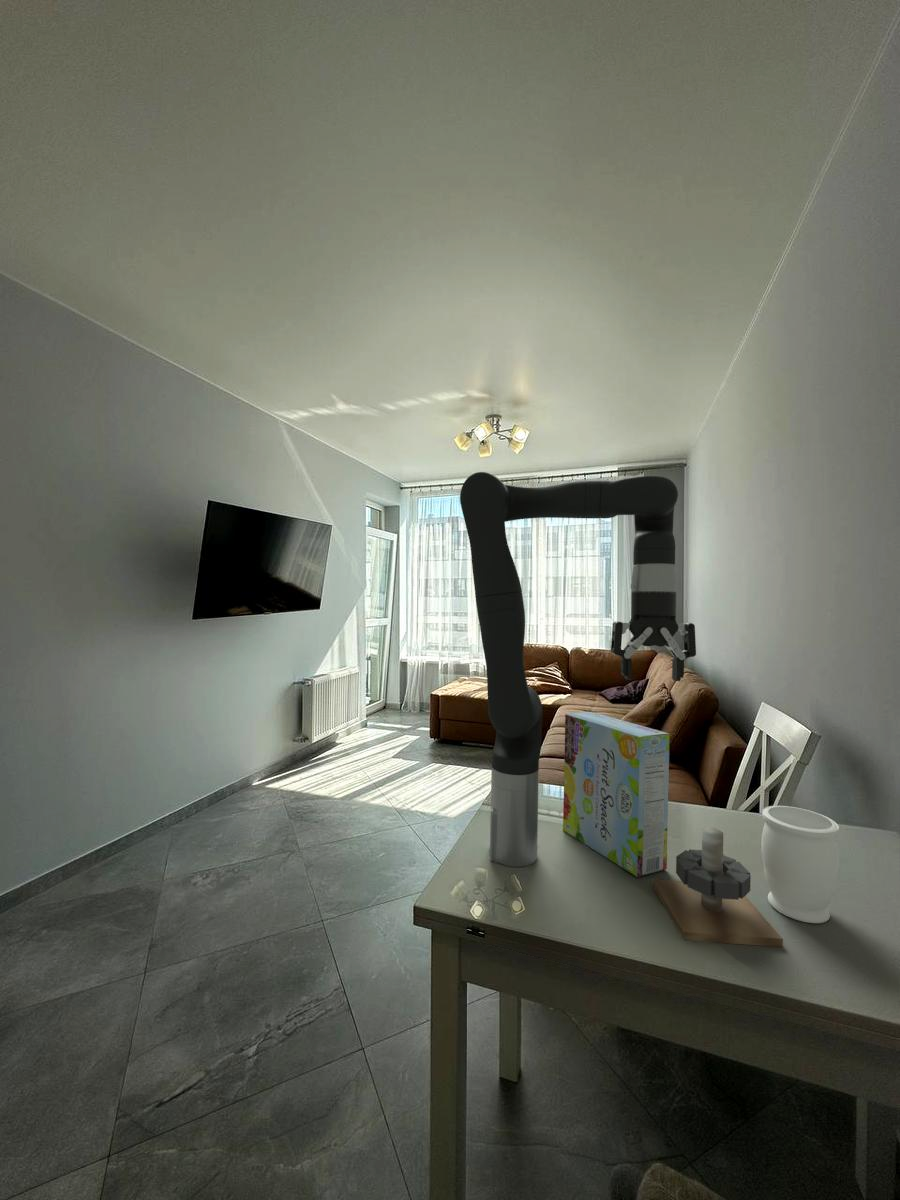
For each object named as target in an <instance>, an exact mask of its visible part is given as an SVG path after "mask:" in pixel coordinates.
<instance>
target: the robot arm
mask: <svg viewBox="0 0 900 1200" xmlns="http://www.w3.org/2000/svg"><path fill="white" fill-rule="evenodd" d="M459 493H460V494H459V502H460V507H461V512H462V516H463V519H464V524H465V529H466V532H467V535H468V541H469V547H470V548H469V549H470V557H471V569H472V577H473V585H474V596H475V605H476V611H477V612H476V613H477V618H478V623H479V630H480V635H481V642H482V648H483V654H484V659H485V667H486V678H487V679H486V685H487V711H488V718H489V721H490V723H491V725H492V726H493V728H494V729H495V730H496V735H495V741H494V742H495V743H494V745H493V749H492V751H491V781H490V783H491V784H490V787H491V788H490V815H489V816H490V821H489V827H490V829H489V861H490V862H496V863H499V864H500V865H504V866H509V867H516V868H517V867H525V866H527V867H528V866H529V865H532V864H534V863H535V862H536V861H537V859H538V847H539V846H538V845H539V844H538V839H539V838H538V837H539V836H538V834H539V833H538V832H539V831H538V830H539V829H538V828H539V784H540V782H539V779H540V778H539V776H540V775H539V774H540V773H539V771H540V767H539V766H540V756H541V750H542V735H543V734H542V733H543V732H542V729H543V705H542V700H541V697H540V696H539V694H538V693H537V691H536V690H535V689H533V687H531V686H529V685H528V682H527V677H526V676H527V675H526V672H525V666H524V664H525V663H524V650H525V649H524V648H525V646H524V645H525V636H526V635H525V634H526V613H525V612H526V611H525V610H526V609H525V603H524V597H523V589H522V585H521V581H520V577H519V572H518V570H517V567H516V565H515V561H514V559H513V555H512V553H511V551H510V548H509V543H508V540H507V534H506V533H507V532H506V522H510V521H511V522H513V521H518V520H528V519H543V518H545V519H546V518H547V519H548V518H551V519H553V518H556V519H558V518H559V519H560V518H561V519H611V518H616V517H617V516H634V521H633V522H634V535H635V537H634V543H633V554H632V555H633V557H632V558H633V561H632V562H633V563H632V565H633V567H632V574H631V583H630V589H631V593H630V594H631V597H630V599H631V600H630V601H631V605H630V620H629V622H622V621H618V620H615V621H613V622H612V627H611V640H610V641H611V643H610V652H611V653H612V654H613V655H617V656H618V657H620V659H621V660H620V674H621V675H622V676H624V679H625V680H632V675H633V674H632V672H633V671H632V666H633V664H632V661H633V659H632V658H631V657H632V656H633V655H634V654H635V652H636V651H637V650H638V649H640V647H641V646H644V647H653V646H654V647H658V648H659V647H660V648H661V647H662V648H663V647H665V648H666V649H667V650H668V651H669V652H670V654H671V655H672V656H673V659H672V660H671V661H672V662H671V664H672V667H671V678H672V680H673V681H675V682H681V679H683V678H684V676H685V660H686V659H688V658H694V657H696V656H697V646H696V644H697V643H696V625H695V624H694V623H692V622H683V623H678V622H677V620H676V619H677V617H676V616H677V571H676V540H675V535H674V532H673V531H674V513H675V512H674V511H675V506H676V503H677V501H678V499H679V498H678V497H679V491H678V488H677V486H676V484H675V482H673V481H672V480H671V479H669V478H667V477H665V476H660V475H643V476H635V477H627V478H623V479H622V478H621V479H616V480H607V479H606V480H603V479H602V480H600V479H599V480H596V479H594V480H575V481H574V480H573V481H566V482H561V483H555V484H551V485H544V486H535V487H533V486H532V487H530V486H529V487H527V486H526V487H524V486H516V485H511V484H504V482H503V481H502V480H501V479H500V478H499V477H497V476H496V475H494V474H492V473H489V472H488V471H487V472H486V471H478V472H473V474H470V475H469V476H468V477H467V478H466V479H465V481H464V482H463V484H462V486H461V488H460V492H459ZM627 630H629V631H630V634H632V637H631V638H630V639H629V640H628V642H627V643H626V646H625V647H624V648H623V649H622V640H623V635H625V634H626V632H627ZM678 631H679V634H680V635H681V636H682V640H683V641H682V642H683V650H682V649H681V647H680V645H679V644H678V642H677V641H676V639H675V638H674V636H675V635H676V633H677V632H678Z"/></svg>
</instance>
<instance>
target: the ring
mask: <svg viewBox="0 0 900 1200" xmlns="http://www.w3.org/2000/svg"><path fill="white" fill-rule="evenodd" d="M675 858H676V859H675V860H676V862H675V873H676V875H677V876H678V878H679V879H680V881H682V882H683V884H684V885H687V887H689V888H691V889H693V890H696V891H698V892H700V893H702V894H705V895H707V896H709V897H711V896H712V895H713V896H714V897H715V898H719V899H735V900H739V898H741V899H743V898H744V897H745V896H746V897H747V895H748V894H749V893H750V892H751V877H752V876H751V873H750V872H749V870H748V869H747V868H746V867H745V866H744V865H743V864H742V862H740V861H737V860H736V859H735V858H732V857H730V856H726V855H724V854H723V872H724V873H712V872H710V871H707V870H705V869H702V868H701V866H702V849H688V850H687V849H685V850H684V851H682V852H681V853H679V854H678V855H676V857H675Z"/></svg>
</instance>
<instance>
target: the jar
mask: <svg viewBox="0 0 900 1200" xmlns="http://www.w3.org/2000/svg"><path fill="white" fill-rule="evenodd" d="M761 817H762V819H763V820H764V821H765V822H764V825H763V829H762V833H761V841H760V842H761V844H760V848H761V858H762V862H763V863H762V864H763V871H764V877H765V880H766V883H767V886H768V888H769V890H770V891H769V893H768V895H767V900H768V903H769V905H770V906H771V907H772V908H773V909H775V910H776V911H777V912H779V913H780V914H782V915H784V916H786V917H789V918H790V919H793V920H796V921H799V922H803V923H807V924H808V923H810V924H823V923H826V922H827V921H828V920H830V917H831V916H830V915H831V914H830V911H829V909H828V906H829V904H830V903H831V901H832V899H833V896H834V893H835V889H836V884H837V881H838V875H839V868H840V867H839V866H840V865H839V864H840V861H839V860H840V857H839V849H838V848H839V847H838V844H837V839H836V836H838V834H839V833H840V827H839V825H838V823H836V822H835V820H834V819H832V818H829V817H827V816H826V815H823V814H821V813H819V812H815V811H812V810H809V809H805V808H800V807H796V806H788V805H769V806H765V807H763V808H762V810H761Z"/></svg>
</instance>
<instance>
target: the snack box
mask: <svg viewBox="0 0 900 1200" xmlns="http://www.w3.org/2000/svg"><path fill="white" fill-rule="evenodd" d="M564 715H565V716H564V717H565V719H564V759H563V761H564V763H563V764H564V768H563V769H564V771H563V807H562V808H563V812H562V815H563V817H562V831H564V832H565V833H566V834H568V835H570V836H572V837H573V838H575V839H576V840H578V841H580V842H581V843H583V844H584V845H586V846H588V847H589V848H590V849H592V850H594V851H595V852H597V853H599V854H600V855H602V856H603V857H605V858H606V859H608V860H610V861H611V862H613V863H614V864H616V865H617V866H619V867H621V869H624V870H625V871H627V872H629V873H630V874H632V875H634V876H635V877H636V878H639V877H642V876H645V875H649V874H653V873H657V872H661V871H664V870H667V868H668V826H669V825H668V823H669V822H668V820H669V818H668V816H669V778H670V777H669V775H670V774H669V773H670V771H669V769H670V768H669V767H670V739H671V738H670V735H671V733H667V732H665V731H661V730H658V729H654V728H651V727H647V726H644V725H640V724H636V723H633V722H629V721H626V720H622V719H619V718H614V717H611V716H608V715H603V714H600V713H597V712H593V711H592V712H591V711H583V712H582V711H581V712H573V713H572V712H571V713H565V714H564Z"/></svg>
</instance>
